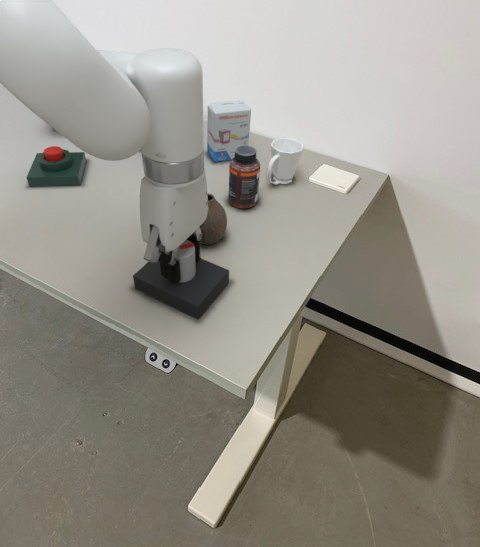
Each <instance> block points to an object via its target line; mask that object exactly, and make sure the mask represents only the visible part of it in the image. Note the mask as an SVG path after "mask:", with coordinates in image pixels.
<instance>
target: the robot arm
mask: <svg viewBox="0 0 480 547" xmlns="http://www.w3.org/2000/svg"><path fill="white" fill-rule="evenodd" d="M203 77H204V76H203V68H202V64H201V62H200V60H199V59H198V57H197V56H196V55H194V54H193V53H191V52H189V51H186V50H183V49H180V48H179V49H178V48H171V47H170V48H169V47H161V48H160V47H159V48H153V49H148V50H144V51H143V52H125V51H114V50H113V51H111V50H102V49H97V48H95V47H94V45H93V44H92V43H91V42H90V40H88V39H87V37H86V36H84V34H83V33H82V32H81V31H80V30H79V29H78V28H77V26H76V25H75V24H74V23H73V22H72V21H71V19H69V18H68V16H67V15H66V14H65V13H64V12H63V11H62V9H60V7H59V6H58V5H57V4H56V2H55V1H54V0H0V85H2V86H3V87H4V88H5V89H6V90H7V91H8V92H9V93H10V94H12V96H14V98H16V99H17V100H18V101H19V102H20V103H22V104H23V105H24V106H25V107H26V108H27V109H28V110H30V111H31V112H32V113H34V115H35V116H37V118H39V119H40V120H42V121H43V122H44V123H45V124H47V125H48V126H50V127H51V128H52V129H54V130H55V131H56V132H57V133H58V134H60V135H61V136H62V137H63V138H65V139H66V140H67V141H69V142H70V143H72V144H73V145H74V146H75V147H76V148H78V149H79V150H81V152H84V153H85V154H87V155H89V156H92V157H94V158H96V159H100V160H103V161H110V162H115V161H123V160H126V159H129V158H131V157H133V156H135V155H137V153H139V152H141V159H142V167H143V175H144V176H143V177H142V178H141V179H140V186H139V220H140V230H141V237H142V241H143V243H146V247H145V251H144V254H143V258H142V259H143V260H144V261H147V262H151V263H155V262H160V268H161V275H162V276H163V277H165V278H166V279H169V280H172V281H174V282H176V283H179V282H180V280H181V275H180V263H179V261H177V249H178V247H179V246H180V245H181V244H182V243H183V242H184V241H185V240H188V241H190V242H192V243H194V246H195V262H199V261H200V258H201V243H200V242H199V240H200V239H201V237H202V233H201V228H202V226H203V224H204V221H205V220H206V218H207V212H208V210H209V207H208V194H209V193H208V184H207V183H208V182H207V176H206V170H205V148H204V147H205V146H204V144H205V143H204V141H205V140H204V78H203ZM207 193H208V194H207ZM164 247H165V249H166V251H167V252H169V255H168V254H166V253H164Z"/></svg>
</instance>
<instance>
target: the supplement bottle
mask: <svg viewBox="0 0 480 547" xmlns="http://www.w3.org/2000/svg"><path fill="white" fill-rule="evenodd" d="M260 162H261V161H260V160H259V159H258V158H257V149H256V148H255V147H253V146H251V145H248V146H239V147H237V148H236V149H235V157H234V158H232V160H229V167H228V168H229V170H228V202H229V204H230V205H231V206H233V207H235V208H238V209H250V208H252V207H254V206H256V204H257V203H258V199H259V187H260V177H261V176H260V175H261V174H260V173H261V163H260Z"/></svg>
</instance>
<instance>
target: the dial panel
mask: <svg viewBox="0 0 480 547" xmlns="http://www.w3.org/2000/svg"><path fill="white" fill-rule="evenodd" d="M164 253H165V247H164ZM195 265H196V274H195V276H194V278H193V279H191V280H190V281H187V282H181V283H180V282H179V283H176V282H174V281H172V280H169V279H166V278H165V277H163V276H162V275H161V268H160V262H155V263H151V262H149V261H147V262H146V263H145V264H144V265H143V266H142V267H140V269H138V271H136V272H135V273H134V274H133V275H132V279H133V285H134V289H135V290H136V291H139V292H141V293H142V294H144V295H146V296H149V297H151V298H153V299H155V300H157V301H159V302H162V303H163V304H165V305H168V306H169V307H171V308H173V309H176V310H178V311H180V312H182V313H184V314H185V315H188V316H190V317H192V318H194V319H196V320H200V318H201V317H202V316H203V315H204V313H205V312H206V311H207V310H208V309H209V308H210V306H211V305H212V304H213V303H214V302H215V300H217V298H218V297H219V295H221V293H223V291H224V290H225V289H226V288H227V286H228V285H229V282H230V270H229V269H228V268H225V267H222V266H220V265H218V264H215V263H213V262H211V261H209V260H206V259H204V258H202V257H200V261H199V262H195Z"/></svg>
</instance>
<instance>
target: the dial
mask: <svg viewBox="0 0 480 547" xmlns="http://www.w3.org/2000/svg"><path fill="white" fill-rule="evenodd" d="M165 253H166V254H168V255H169V252H167V251H166V249H165ZM177 261H179V263H180V275H181V280H180V283H181V282H187V281H190V280H191V279H193V278H194V276H195V274H196V265H195V246H194V243H192V242H190V241H188V240H185V241H184V242H183V243H182V244H181V245H180V246H179V247H178V249H177Z"/></svg>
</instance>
